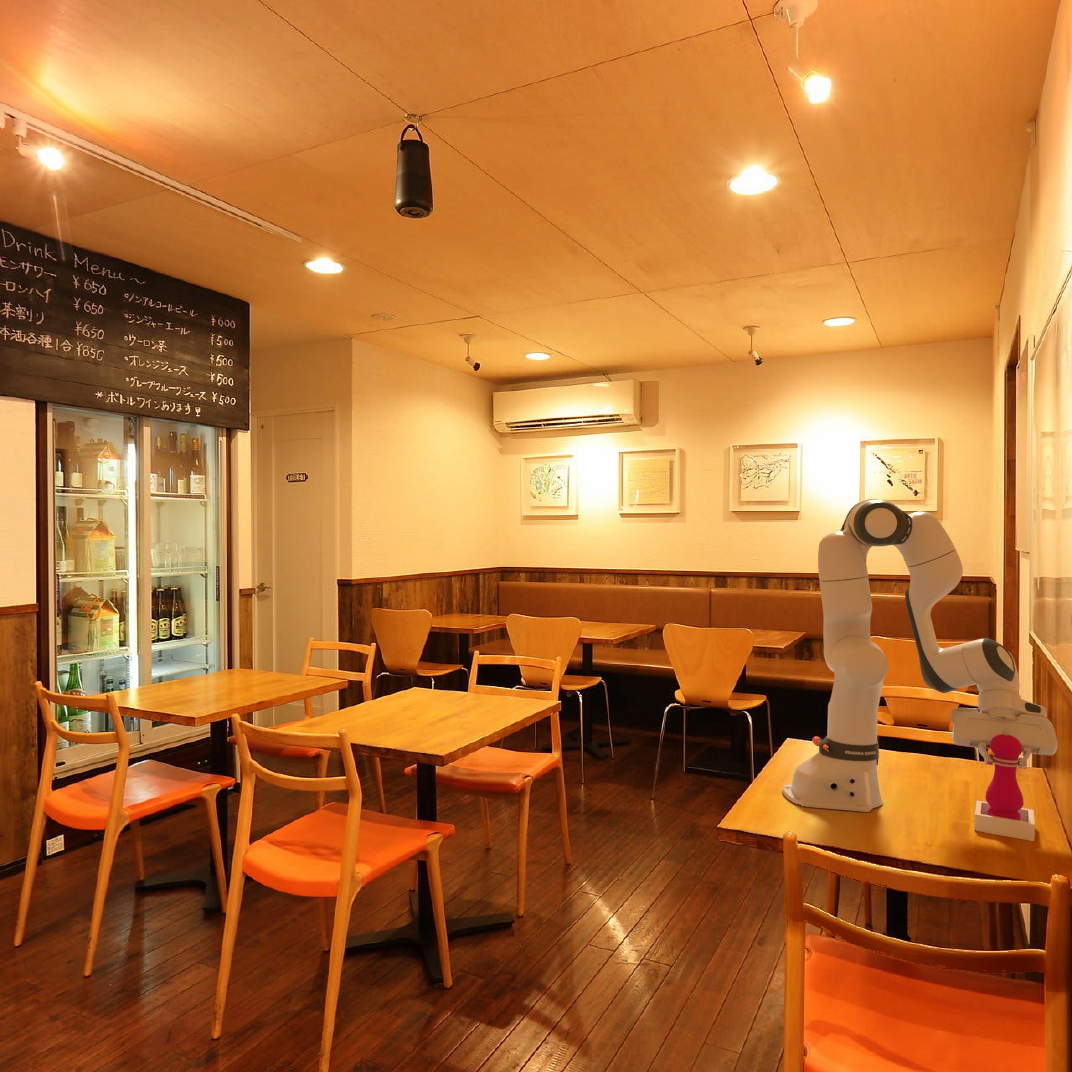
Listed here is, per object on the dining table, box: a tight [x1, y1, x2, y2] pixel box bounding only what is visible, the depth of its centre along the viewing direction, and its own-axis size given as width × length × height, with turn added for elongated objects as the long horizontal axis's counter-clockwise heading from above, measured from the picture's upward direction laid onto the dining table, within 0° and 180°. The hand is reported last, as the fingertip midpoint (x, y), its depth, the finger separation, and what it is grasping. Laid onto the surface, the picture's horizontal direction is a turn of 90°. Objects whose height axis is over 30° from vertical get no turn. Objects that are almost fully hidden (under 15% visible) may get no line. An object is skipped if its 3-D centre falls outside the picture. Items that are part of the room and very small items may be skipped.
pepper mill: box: [984, 728, 1025, 821], centre depth 177 cm, size 7×7×20 cm
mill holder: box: [974, 800, 1036, 842], centre depth 177 cm, size 11×11×4 cm
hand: (1005, 765), depth 177 cm, fingers closed on pepper mill, 5 cm apart
